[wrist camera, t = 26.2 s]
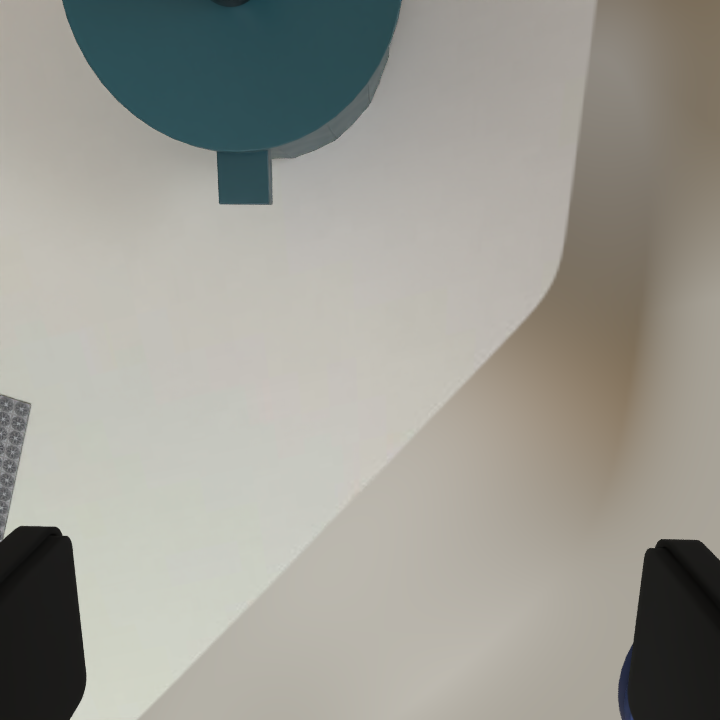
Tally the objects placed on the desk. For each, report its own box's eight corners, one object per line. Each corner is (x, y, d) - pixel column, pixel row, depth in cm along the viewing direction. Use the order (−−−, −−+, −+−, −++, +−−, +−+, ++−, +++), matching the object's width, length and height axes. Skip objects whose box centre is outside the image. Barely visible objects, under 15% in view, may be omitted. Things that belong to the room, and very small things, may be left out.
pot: (392, -160, 34) (397, -300, 24) (385, 206, 38) (388, 205, 29) (139, -159, 34) (50, -297, 25) (162, 204, 38) (94, 203, 29)
